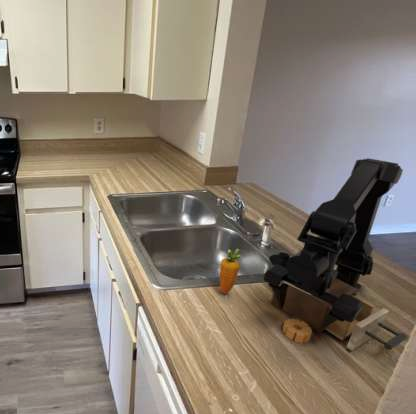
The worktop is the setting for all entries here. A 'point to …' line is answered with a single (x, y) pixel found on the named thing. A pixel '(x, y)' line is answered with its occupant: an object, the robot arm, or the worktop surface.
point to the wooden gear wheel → (297, 330)
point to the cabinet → (312, 304)
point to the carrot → (229, 271)
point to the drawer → (364, 327)
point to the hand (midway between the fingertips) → (300, 318)
